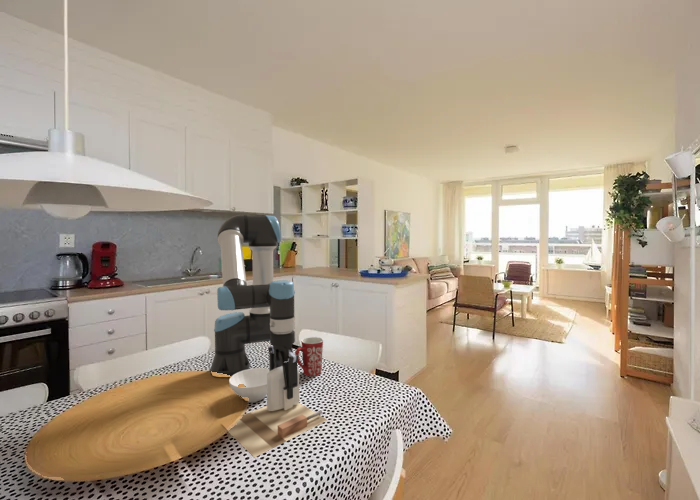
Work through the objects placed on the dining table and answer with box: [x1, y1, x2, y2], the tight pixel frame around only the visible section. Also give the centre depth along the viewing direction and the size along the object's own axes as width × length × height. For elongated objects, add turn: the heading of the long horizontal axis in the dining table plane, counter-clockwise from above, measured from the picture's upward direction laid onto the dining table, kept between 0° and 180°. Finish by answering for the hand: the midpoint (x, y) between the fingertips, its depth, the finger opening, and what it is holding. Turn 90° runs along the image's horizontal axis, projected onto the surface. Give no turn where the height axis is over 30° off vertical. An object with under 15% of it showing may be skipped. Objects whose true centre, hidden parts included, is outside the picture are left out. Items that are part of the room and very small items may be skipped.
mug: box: [294, 336, 325, 377], centre depth 130 cm, size 13×9×14 cm
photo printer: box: [266, 366, 300, 411], centre depth 100 cm, size 10×4×12 cm, turn 124°
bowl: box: [228, 367, 269, 403], centre depth 111 cm, size 16×16×7 cm
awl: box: [278, 410, 323, 438], centre depth 91 cm, size 14×2×2 cm, turn 134°
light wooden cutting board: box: [227, 402, 328, 458], centre depth 93 cm, size 20×23×2 cm
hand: (283, 404), depth 101 cm, fingers closed on photo printer, 5 cm apart
